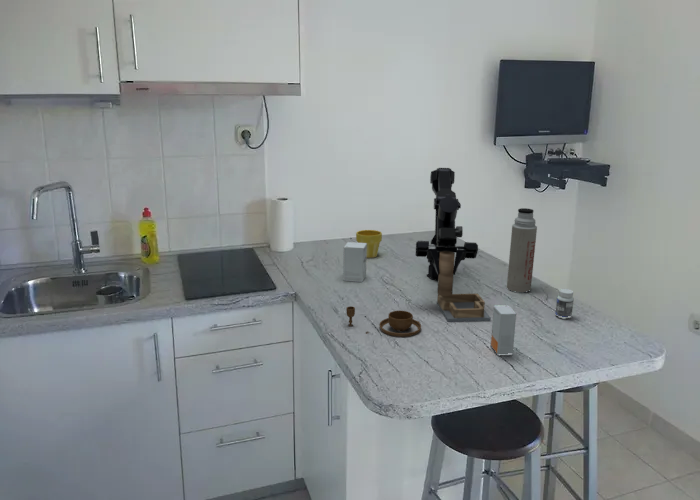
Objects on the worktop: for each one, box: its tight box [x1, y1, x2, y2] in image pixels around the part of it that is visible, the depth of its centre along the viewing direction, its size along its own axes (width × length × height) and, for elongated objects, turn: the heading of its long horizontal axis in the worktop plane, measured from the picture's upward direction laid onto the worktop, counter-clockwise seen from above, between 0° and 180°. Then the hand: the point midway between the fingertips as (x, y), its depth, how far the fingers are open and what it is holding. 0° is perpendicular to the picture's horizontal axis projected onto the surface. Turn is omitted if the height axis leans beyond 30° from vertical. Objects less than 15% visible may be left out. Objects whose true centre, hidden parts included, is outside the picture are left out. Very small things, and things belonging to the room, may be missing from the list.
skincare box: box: [490, 304, 517, 354], centre depth 152 cm, size 6×4×12 cm
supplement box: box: [342, 241, 368, 283], centre depth 208 cm, size 7×7×13 cm
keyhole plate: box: [436, 292, 492, 323], centre depth 179 cm, size 14×13×4 cm
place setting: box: [346, 306, 422, 338], centre depth 169 cm, size 18×20×6 cm
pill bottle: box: [554, 288, 574, 317], centre depth 176 cm, size 5×5×8 cm
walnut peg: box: [437, 251, 456, 296], centre depth 177 cm, size 4×4×13 cm
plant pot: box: [355, 229, 383, 259], centre depth 236 cm, size 10×10×10 cm
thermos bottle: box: [506, 207, 538, 293], centre depth 197 cm, size 8×8×28 cm
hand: (446, 274), depth 176 cm, fingers closed on walnut peg, 4 cm apart
